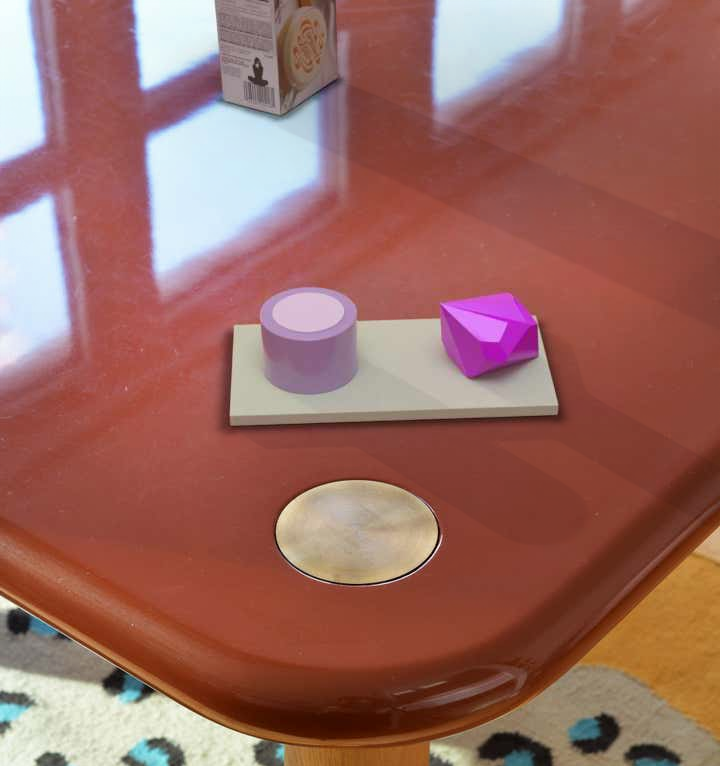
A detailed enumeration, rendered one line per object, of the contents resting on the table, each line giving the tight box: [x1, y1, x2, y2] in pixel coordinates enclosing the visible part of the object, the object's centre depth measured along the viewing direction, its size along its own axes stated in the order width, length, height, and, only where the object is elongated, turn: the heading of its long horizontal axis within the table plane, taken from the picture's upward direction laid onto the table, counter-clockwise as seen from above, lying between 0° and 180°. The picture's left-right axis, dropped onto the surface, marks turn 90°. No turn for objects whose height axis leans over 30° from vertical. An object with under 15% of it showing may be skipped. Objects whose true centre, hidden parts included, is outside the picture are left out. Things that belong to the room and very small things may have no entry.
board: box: [229, 315, 559, 427], centre depth 86 cm, size 20×10×1 cm, turn 92°
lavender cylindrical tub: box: [259, 286, 358, 394], centre depth 85 cm, size 6×6×4 cm
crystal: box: [439, 292, 539, 377], centre depth 85 cm, size 5×5×5 cm
